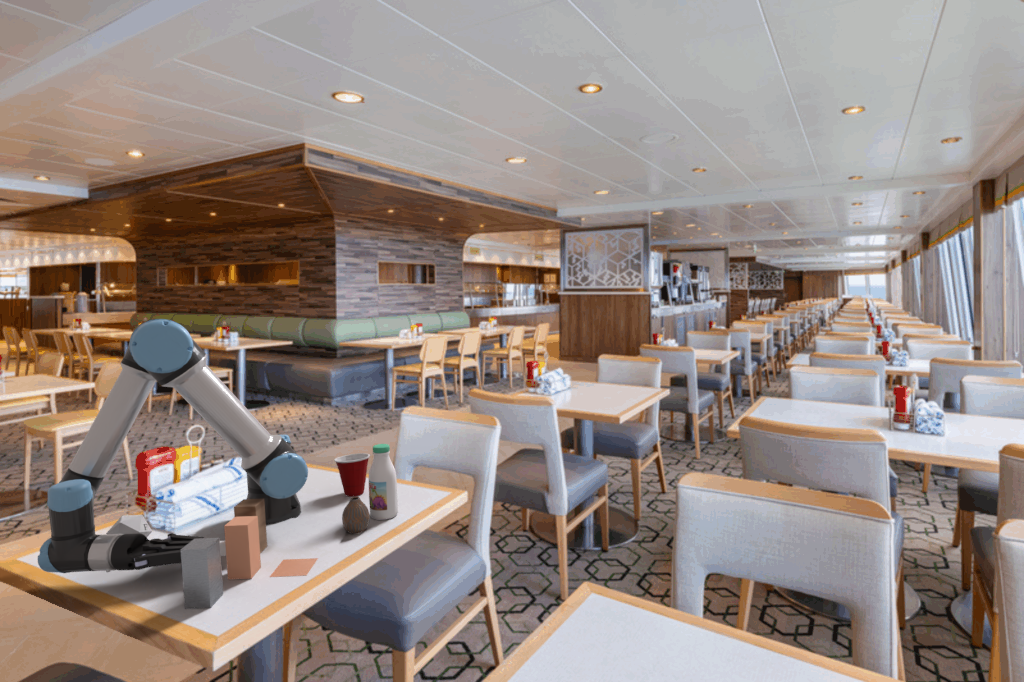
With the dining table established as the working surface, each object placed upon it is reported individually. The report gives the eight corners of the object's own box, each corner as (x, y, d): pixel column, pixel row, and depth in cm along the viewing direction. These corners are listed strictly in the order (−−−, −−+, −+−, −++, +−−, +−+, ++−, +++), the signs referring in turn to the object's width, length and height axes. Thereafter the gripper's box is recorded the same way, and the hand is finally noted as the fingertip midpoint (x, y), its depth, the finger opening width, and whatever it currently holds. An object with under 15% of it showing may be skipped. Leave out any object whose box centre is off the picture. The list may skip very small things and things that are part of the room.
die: (118, 560, 133) (145, 524, 135) (91, 541, 134) (118, 506, 137) (140, 557, 141) (165, 523, 143) (114, 539, 142) (139, 505, 144)
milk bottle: (388, 507, 161) (385, 440, 159) (403, 514, 155) (400, 445, 154) (364, 515, 155) (361, 446, 154) (379, 523, 150) (376, 450, 148)
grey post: (184, 608, 108) (180, 549, 107) (198, 595, 113) (194, 538, 112) (210, 607, 108) (206, 548, 108) (223, 594, 113) (219, 537, 113)
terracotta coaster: (283, 562, 128) (283, 559, 128) (318, 561, 128) (318, 558, 128) (269, 580, 120) (269, 576, 120) (306, 578, 120) (306, 575, 120)
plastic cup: (361, 485, 181) (359, 449, 180) (378, 493, 173) (376, 455, 172) (330, 493, 174) (328, 456, 173) (345, 502, 166) (343, 463, 165)
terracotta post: (227, 579, 119) (224, 525, 118) (238, 568, 124) (235, 516, 123) (251, 578, 120) (247, 525, 119) (261, 567, 124) (257, 515, 124)
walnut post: (237, 556, 130) (233, 507, 129) (246, 547, 135) (243, 499, 134) (258, 555, 130) (255, 506, 129) (267, 546, 135) (264, 498, 134)
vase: (355, 538, 140) (353, 504, 140) (337, 532, 144) (335, 500, 143) (375, 528, 146) (374, 496, 146) (357, 523, 150) (355, 492, 149)
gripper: (141, 554, 127) (244, 551, 128) (100, 583, 114) (215, 579, 115) (138, 523, 127) (242, 519, 127) (97, 548, 114) (213, 544, 114)
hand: (229, 548), depth 121 cm, fingers closed
